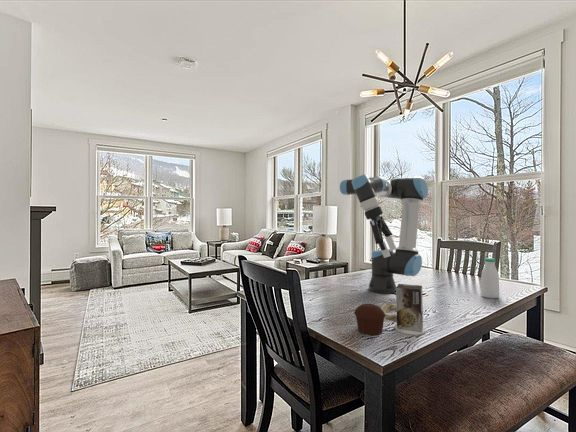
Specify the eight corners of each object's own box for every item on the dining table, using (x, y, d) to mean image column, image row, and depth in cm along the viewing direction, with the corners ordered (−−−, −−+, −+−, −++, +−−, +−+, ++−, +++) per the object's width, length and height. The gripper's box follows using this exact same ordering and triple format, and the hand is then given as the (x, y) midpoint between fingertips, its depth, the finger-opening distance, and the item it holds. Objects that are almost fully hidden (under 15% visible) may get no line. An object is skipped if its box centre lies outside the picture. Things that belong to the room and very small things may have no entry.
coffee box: (423, 326, 121) (423, 285, 121) (421, 332, 116) (421, 289, 115) (398, 323, 125) (398, 283, 125) (396, 328, 120) (395, 286, 119)
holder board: (376, 317, 134) (375, 312, 134) (385, 307, 148) (385, 302, 148) (415, 323, 126) (415, 318, 126) (421, 312, 140) (421, 307, 140)
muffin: (390, 330, 120) (390, 304, 120) (377, 339, 112) (377, 311, 111) (362, 323, 128) (362, 298, 127) (348, 331, 119) (348, 305, 119)
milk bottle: (501, 299, 158) (501, 259, 158) (484, 298, 160) (484, 259, 159) (494, 294, 166) (494, 257, 165) (478, 294, 167) (478, 257, 167)
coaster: (391, 331, 119) (391, 329, 119) (398, 322, 128) (398, 320, 128) (423, 337, 113) (423, 335, 113) (427, 327, 122) (427, 325, 122)
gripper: (371, 208, 152) (388, 249, 150) (355, 215, 130) (375, 262, 129) (385, 203, 148) (403, 244, 146) (372, 208, 126) (393, 257, 125)
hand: (390, 253), depth 137 cm, fingers open, 13 cm apart
